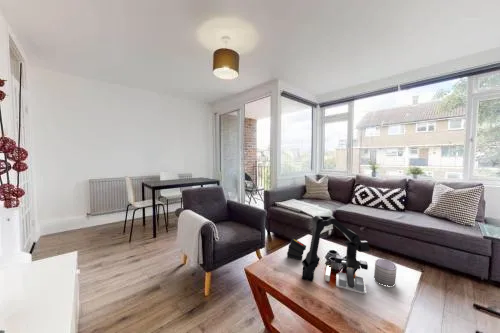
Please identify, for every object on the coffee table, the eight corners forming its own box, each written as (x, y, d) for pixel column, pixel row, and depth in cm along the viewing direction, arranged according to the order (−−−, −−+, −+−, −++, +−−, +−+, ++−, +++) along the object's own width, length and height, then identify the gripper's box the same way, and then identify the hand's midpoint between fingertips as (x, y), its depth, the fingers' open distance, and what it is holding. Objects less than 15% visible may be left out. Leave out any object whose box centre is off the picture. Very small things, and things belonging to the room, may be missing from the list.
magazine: (283, 252, 157) (292, 237, 154) (298, 262, 154) (308, 247, 151) (282, 255, 153) (292, 239, 150) (298, 265, 150) (308, 249, 147)
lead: (354, 288, 119) (354, 282, 118) (347, 286, 120) (348, 280, 120) (352, 273, 134) (352, 267, 134) (346, 271, 135) (346, 266, 135)
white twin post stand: (336, 286, 122) (336, 278, 121) (336, 275, 133) (336, 268, 132) (366, 294, 116) (367, 286, 115) (363, 282, 127) (364, 274, 126)
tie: (326, 270, 138) (327, 265, 138) (330, 271, 137) (330, 266, 137) (324, 280, 127) (325, 274, 127) (329, 281, 126) (329, 275, 126)
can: (398, 284, 126) (400, 265, 125) (389, 289, 120) (390, 270, 120) (379, 274, 136) (381, 257, 135) (369, 278, 130) (371, 261, 129)
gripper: (335, 253, 127) (334, 277, 128) (370, 261, 119) (367, 286, 121) (335, 246, 137) (334, 268, 138) (367, 252, 130) (365, 275, 131)
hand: (349, 274), depth 132 cm, fingers closed on lead, 4 cm apart
